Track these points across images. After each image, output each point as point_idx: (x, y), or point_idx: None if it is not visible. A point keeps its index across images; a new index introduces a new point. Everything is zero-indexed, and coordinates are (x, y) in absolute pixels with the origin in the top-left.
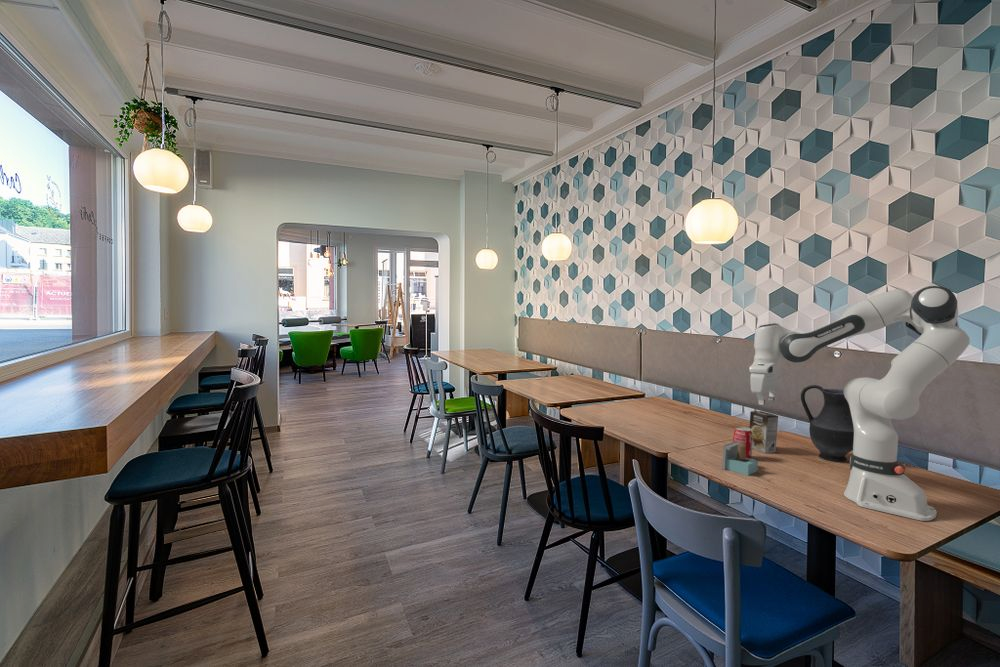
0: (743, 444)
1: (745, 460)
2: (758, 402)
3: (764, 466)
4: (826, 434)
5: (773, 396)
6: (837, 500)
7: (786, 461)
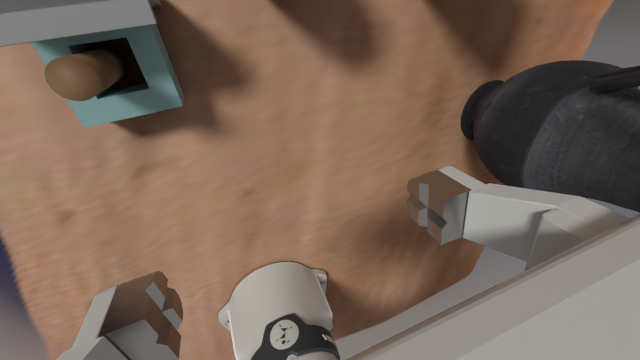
0: (85, 86)
1: (141, 67)
2: (91, 308)
3: (259, 73)
4: (507, 150)
5: (464, 234)
6: (205, 289)
7: (373, 72)
